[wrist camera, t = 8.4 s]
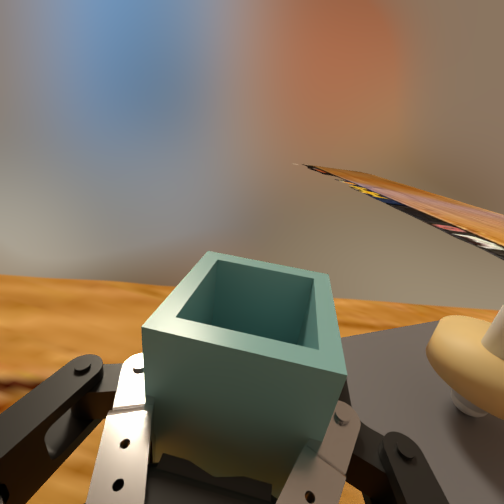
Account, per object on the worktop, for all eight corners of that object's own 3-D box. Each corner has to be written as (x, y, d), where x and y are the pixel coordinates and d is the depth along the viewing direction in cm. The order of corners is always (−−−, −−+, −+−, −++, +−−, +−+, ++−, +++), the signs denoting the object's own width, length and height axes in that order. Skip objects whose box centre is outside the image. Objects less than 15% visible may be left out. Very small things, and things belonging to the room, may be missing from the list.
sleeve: (150, 508, 12) (141, 326, 8) (198, 393, 17) (207, 250, 13) (281, 550, 11) (347, 375, 7) (288, 417, 16) (328, 274, 12)
